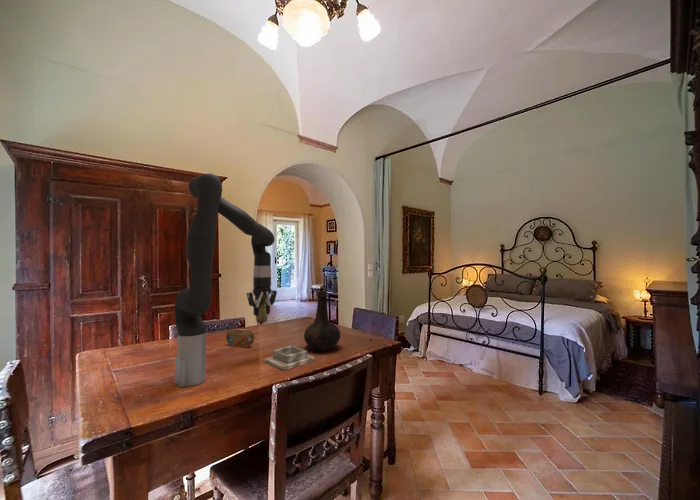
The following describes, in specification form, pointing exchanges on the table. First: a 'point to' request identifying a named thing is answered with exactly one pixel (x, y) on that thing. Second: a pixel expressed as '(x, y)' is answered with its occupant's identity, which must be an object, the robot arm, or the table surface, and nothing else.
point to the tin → (240, 338)
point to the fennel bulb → (262, 311)
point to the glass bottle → (322, 328)
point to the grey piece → (289, 358)
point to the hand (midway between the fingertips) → (261, 314)
